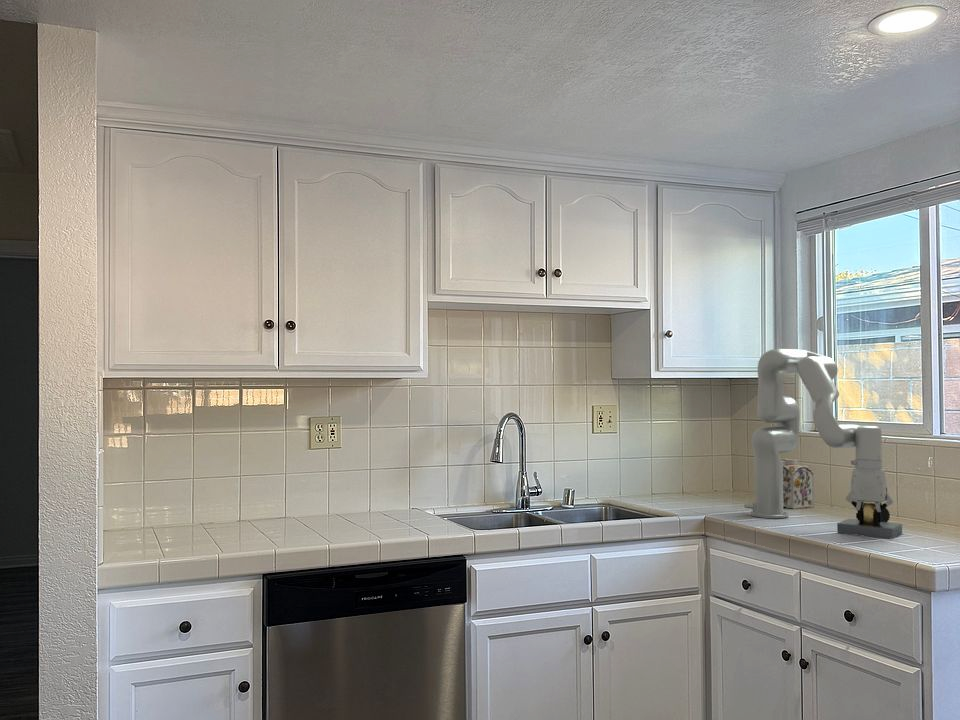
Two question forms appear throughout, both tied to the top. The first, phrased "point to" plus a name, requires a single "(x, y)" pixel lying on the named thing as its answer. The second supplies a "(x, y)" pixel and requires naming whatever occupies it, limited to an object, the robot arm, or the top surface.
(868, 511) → the beige cylinder
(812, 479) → the decorative jar
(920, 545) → the top surface
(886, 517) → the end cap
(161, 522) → the top surface
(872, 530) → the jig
